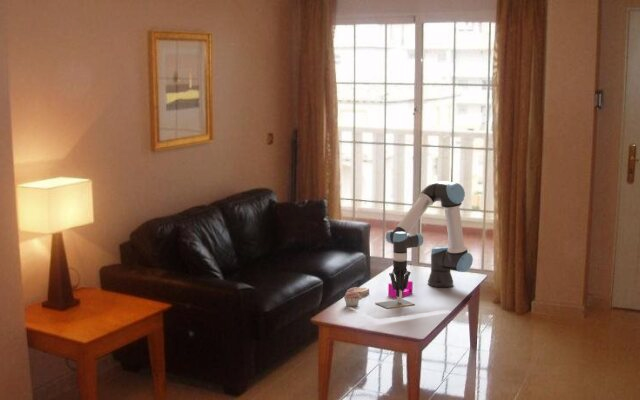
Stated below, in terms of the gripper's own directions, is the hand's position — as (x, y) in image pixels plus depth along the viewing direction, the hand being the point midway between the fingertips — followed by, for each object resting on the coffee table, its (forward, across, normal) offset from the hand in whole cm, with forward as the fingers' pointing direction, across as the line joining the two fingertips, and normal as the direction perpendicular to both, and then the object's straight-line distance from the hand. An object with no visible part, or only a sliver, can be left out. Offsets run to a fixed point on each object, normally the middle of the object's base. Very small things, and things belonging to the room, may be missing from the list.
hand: (399, 302), depth 431 cm
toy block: (+1, -12, -16) cm, 20 cm away
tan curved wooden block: (-1, +14, -30) cm, 33 cm away
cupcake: (+1, +25, -9) cm, 27 cm away
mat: (+1, +3, 0) cm, 3 cm away
